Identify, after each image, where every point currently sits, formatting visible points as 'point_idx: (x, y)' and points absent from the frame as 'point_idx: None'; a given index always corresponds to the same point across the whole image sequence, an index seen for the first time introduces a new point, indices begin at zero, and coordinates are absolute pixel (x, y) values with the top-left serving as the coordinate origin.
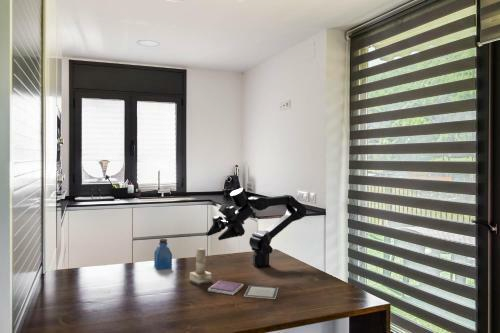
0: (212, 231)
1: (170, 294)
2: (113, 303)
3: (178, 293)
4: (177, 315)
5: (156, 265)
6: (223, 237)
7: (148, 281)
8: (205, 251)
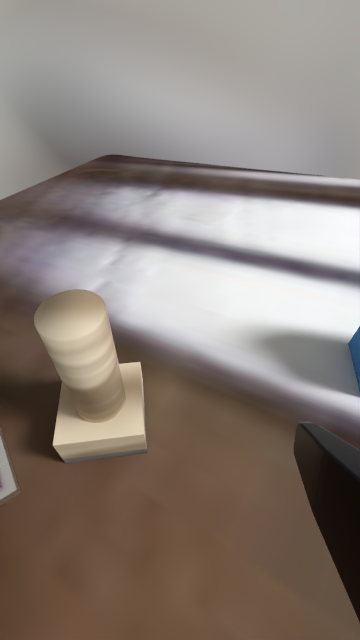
0: (355, 539)
1: None
2: (115, 211)
3: None
4: None
5: None
6: None
7: (220, 286)
8: (45, 342)
